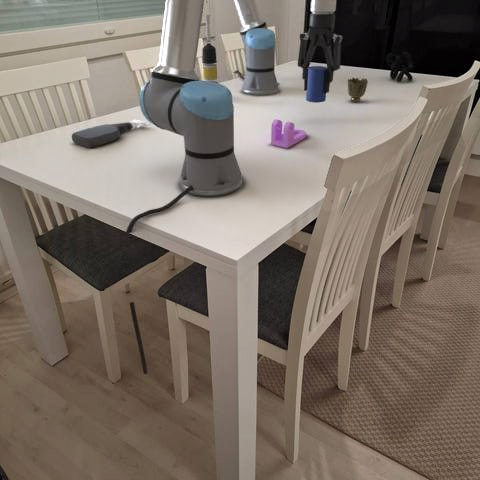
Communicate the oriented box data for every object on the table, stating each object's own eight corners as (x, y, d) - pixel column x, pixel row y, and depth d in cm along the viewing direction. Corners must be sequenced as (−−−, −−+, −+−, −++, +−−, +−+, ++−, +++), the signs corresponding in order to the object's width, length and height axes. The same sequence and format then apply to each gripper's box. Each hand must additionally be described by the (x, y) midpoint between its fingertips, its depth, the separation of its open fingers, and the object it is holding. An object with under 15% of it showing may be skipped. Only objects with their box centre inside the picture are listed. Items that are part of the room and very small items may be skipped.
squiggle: (400, 92, 202) (376, 71, 205) (417, 76, 202) (392, 56, 205) (405, 81, 191) (380, 59, 194) (423, 64, 191) (397, 42, 194)
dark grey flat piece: (70, 142, 137) (133, 123, 153) (90, 149, 131) (154, 129, 147) (68, 132, 136) (131, 115, 152) (89, 139, 130) (153, 120, 146)
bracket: (287, 148, 130) (288, 124, 126) (271, 144, 133) (271, 121, 129) (309, 135, 139) (310, 113, 135) (293, 132, 142) (294, 110, 138)
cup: (343, 102, 170) (345, 80, 166) (348, 97, 176) (350, 76, 172) (362, 104, 167) (365, 82, 163) (367, 99, 173) (370, 78, 169)
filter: (220, 99, 177) (217, 15, 161) (206, 100, 176) (202, 16, 160) (215, 96, 182) (212, 14, 166) (202, 97, 180) (197, 14, 164)
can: (328, 101, 147) (331, 69, 141) (310, 103, 145) (313, 70, 140) (320, 97, 152) (323, 65, 147) (303, 98, 150) (305, 66, 145)
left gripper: (357, 13, 133) (348, 92, 145) (299, 10, 142) (295, 85, 154) (348, 15, 128) (339, 97, 140) (288, 12, 137) (285, 89, 149)
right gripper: (324, -45, 168) (320, 18, 179) (379, -46, 176) (371, 14, 187) (314, -44, 174) (310, 16, 185) (367, -45, 182) (361, 13, 193)
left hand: (316, 91), depth 147 cm, fingers closed on can, 6 cm apart
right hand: (341, 15), depth 186 cm, fingers open, 13 cm apart
